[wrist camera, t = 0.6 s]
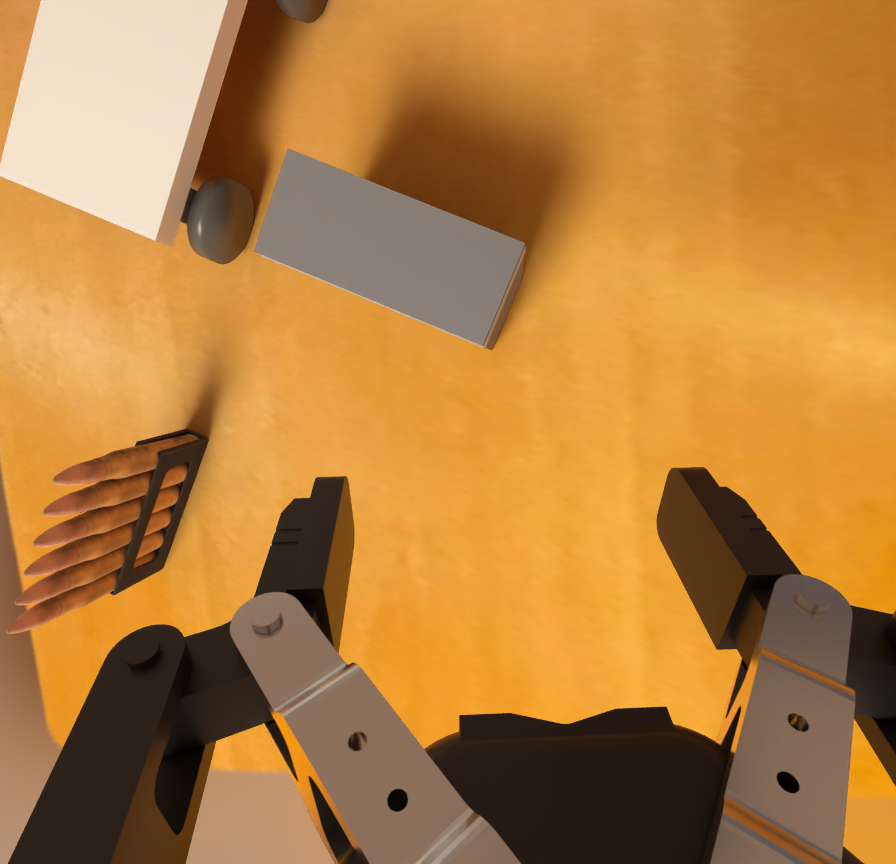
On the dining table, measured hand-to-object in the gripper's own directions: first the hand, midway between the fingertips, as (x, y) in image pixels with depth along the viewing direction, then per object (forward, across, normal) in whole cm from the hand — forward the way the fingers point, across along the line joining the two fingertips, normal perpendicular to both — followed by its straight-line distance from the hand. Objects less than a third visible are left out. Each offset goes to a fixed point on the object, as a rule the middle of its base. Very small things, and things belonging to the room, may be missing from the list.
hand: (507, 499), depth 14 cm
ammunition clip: (+21, +20, +17) cm, 34 cm away
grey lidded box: (+25, +2, +2) cm, 25 cm away
